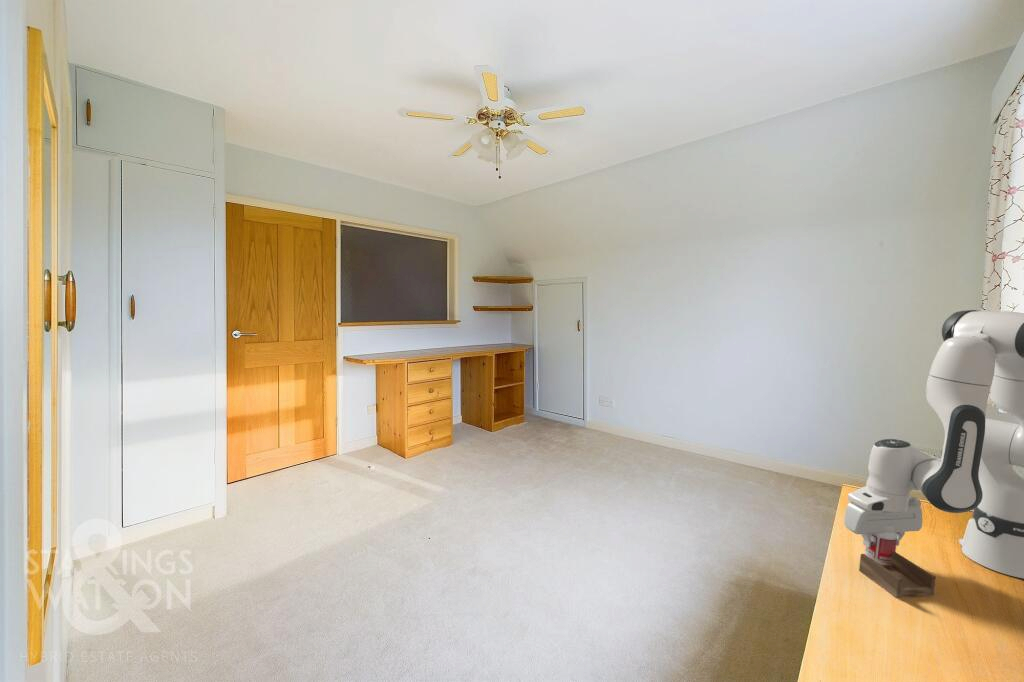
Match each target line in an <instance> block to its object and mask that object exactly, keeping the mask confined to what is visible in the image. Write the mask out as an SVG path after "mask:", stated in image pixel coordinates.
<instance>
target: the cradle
mask: <svg viewBox="0 0 1024 682" xmlns="http://www.w3.org/2000/svg"><path fill="white" fill-rule="evenodd" d="M858 571H859V572H860V573H862V574H863V575H865V576H866V577H867V578H868V579H870V581H873V583H875V584H876V585H878V586H879V587H880V588H882V589H884V590H885V591H886V592H888V593H889V594H890V595H892V596H893V597H895V599H896V598H897V599H899V598H901V599H902V598H914V597H915V598H916V597H927V596H934V593H935V586H936V580H937V579H936V576H934V575H933V574H932V573H930V572H928V571H926V569H923V568H922V567H921V566H919V565H917V564H916V563H914V562H912V561H910V560H909V559H907V558H906V557H904V556H903V555H901V554H899V553H898V552H897V551H896V552H892V555H891V563H877V562H876V561H874V560H873V559H871V558H870V557H868V556H867V555H865V553H861V554H860V560H859V566H858Z"/></svg>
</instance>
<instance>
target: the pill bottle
mask: <svg viewBox="0 0 1024 682" xmlns="http://www.w3.org/2000/svg"><path fill="white" fill-rule="evenodd" d="M894 529H895V525H890V526H885V531H886V532H885V533H872V536H871V537H870V539H871V540H872V541H874V547H866V546H865V550H864V551H865V552H864V554H865V555H867V556H868V557H870V558H871V559H873V560H874V561H876V562H877V563H891V555H892V552H896V553H897V550H896V549H897V546H896V543H897V535H896V533H895V532H893V531H894Z"/></svg>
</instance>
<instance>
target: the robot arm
mask: <svg viewBox="0 0 1024 682" xmlns="http://www.w3.org/2000/svg"><path fill="white" fill-rule="evenodd" d="M941 337H942V340H943V342H942V344H941V345H940V347H939V349H938V350H937V353H936V354H935V356H934V358H933V361H932V363H931V366H930V369H929V372H928V376H927V380H926V384H925V396H926V401H927V403H928V404H929V406H930V407H931V408H932V409H933V411H934V412H935V413H936V415H937V417H938V418H939V420H940V421H941V424H942V426H943V429H944V441H943V445H942V453H941V457H938V456H936V455H932V454H929V453H927V452H924V451H922V450H921V449H919V448H917V447H915V446H913V445H912V444H911V443H910V442H908V441H905V440H904V439H903V440H901V439H895V438H885V439H881V440H877V441H876V442H875V443H874V444H873V446H872V448H871V451H870V455H869V460H868V467H867V469H868V473H869V475H868V478H867V480H866V484H865V486H862V487H861V488H858V489H856V490H853V491H851V492H849V493H848V494H847V500H848V501H849V502H848V503H847V505H846V507H845V513H844V521H843V522H844V523H843V524H844V526H845V528H846V529H847V530H848V531H850V532H852V533H854V534H856V535H861V537H862V539H863V541H862V542H863V543H862V544H863V546H865V548H866V547H874V541H872V540H871V539H870V537H871V536H872V533H885V532H886V531H885V526H890V525H895V529H894V531H893V532H895V533H896V535H897V543H896V547H899V545H900V541H901V540H902V539H903V537H904V536H905V533H906V532H920V530H921V529H922V528H923V510H922V507H921V506H922V502H921V501H920V499H918V498H917V497H916V496H910V495H911V494H910V492H911V491H913V490H915V491H919V492H920V493H921V494H923V496H924V497H925V498H926V499H927V501H928V502H929V503H930V505H932V506H933V507H935V508H936V509H938V510H940V511H942V512H946V513H948V514H949V513H951V514H964V513H968V512H970V511H972V518H969V520H968V521H967V525H966V529H965V532H964V535H963V537H962V538H959V539H958V540H959V541H958V543H959V544H960V546H961V552H962V554H964V555H965V556H966V557H967V558H969V559H970V560H971V561H973V562H974V563H976V564H979V565H981V566H982V567H986V568H987V569H990V570H992V571H995V572H997V573H1000V574H1004V575H1006V576H1007V575H1008V576H1010V577H1015V578H1019V579H1024V477H1022V476H1021V475H1020V474H1018V472H1017V471H1016V470H1015V469H1014V467H1013V466H1016V467H1020V468H1024V313H1023V312H1017V311H1016V312H1015V311H1008V310H1007V311H1006V310H1005V311H1004V310H1002V311H998V310H997V311H994V310H977V309H968V310H960V311H956V312H954V313H952V314H950V316H948V317H947V318H946V319H945V321H944V322H943V324H942V327H941ZM989 397H990V400H991V402H992V404H993V405H994V406H995V407H997V408H998V409H999V410H1001V411H1003V412H1005V413H1007V414H1008V415H1010V416H1012V417H1013V418H1015V420H1017V422H1018V423H1015V422H1014V423H1013V422H1008V421H1003V420H998V419H993V418H987V417H986V413H987V412H986V411H987V406H988V399H989Z"/></svg>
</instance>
